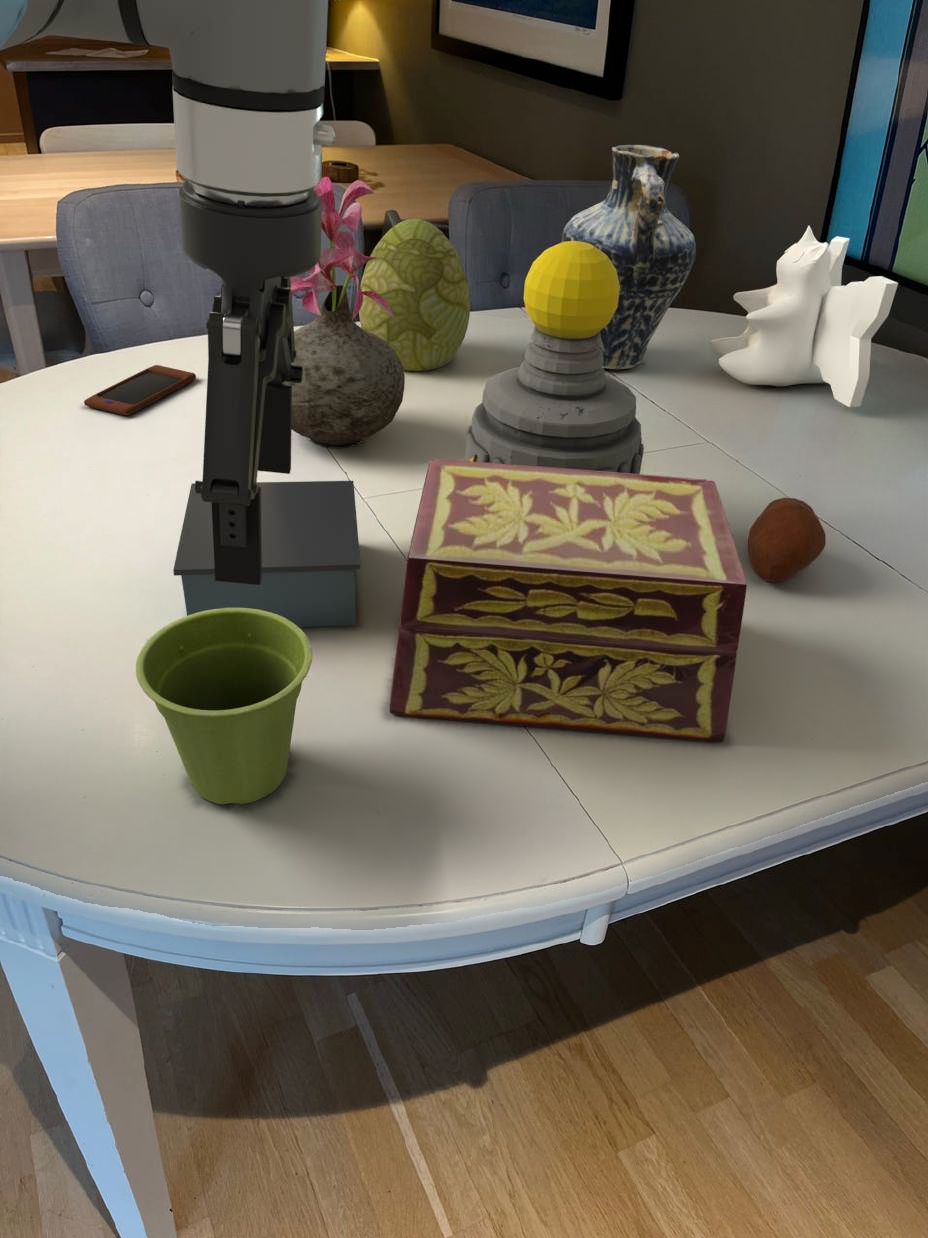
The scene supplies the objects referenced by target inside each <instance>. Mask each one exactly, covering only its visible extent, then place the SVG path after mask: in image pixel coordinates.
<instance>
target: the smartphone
mask: <svg viewBox="0 0 928 1238" xmlns="http://www.w3.org/2000/svg"><path fill="white" fill-rule="evenodd" d="M196 378H197V375H196V373H194V372H190V371H186V370H182V369H177V368H173V367H169V366H164V365H161V364H154V365H152V366H149V367H147V368H145V369H143V370H140V371H139V372H137V373H135V374H133V375H131V376H129V377H126V378H125V379H123V380H121V381H119V382H117V383H114V384H113V385H111V386H109V387H106V388H104V389H103V390H100V391H99V392H96V393H95V394H93V395H91V396H89V397H87V398H85V399H84V400H83V404H84V405H85V406H86V407H88V408H94V409H97V410H101V411H105V412H110V413H112V414H113V413H114V414H118V415H121V416H129V415H132V414H133V413H135V412H138V411H139V410H142V409H144V408H145V407H147V406H149V405H150V404H153V403H154V402H156V401H158V400H160V399H162V398H163V397H165V396H167V395H169V394H171V393H173V392H175V391H177V390H178V389H180V388H182V387H184V386H186V385H187V384H189V383H191V382H193V381H194V380H196Z"/></svg>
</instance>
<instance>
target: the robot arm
mask: <svg viewBox="0 0 928 1238" xmlns="http://www.w3.org/2000/svg"><path fill="white" fill-rule="evenodd" d="M328 12H329V0H0V51H2V50H6V49H9V48H11V47H15V46H18V45H22V44H26V43H30V42H32V41H35V40H38V39H41V38H44V37H47V36H52V37H53V36H54V37H55V36H57V37H66V38H67V37H68V38H76V39H77V38H78V39H84V40H85V39H86V40H94V41H95V40H97V41H106V42H107V41H108V42H115V43H116V42H117V43H125V44H126V43H127V44H133V45H136V46H143V47H144V46H145V47H146V46H147V47H153V46H154V47H161V48H167V49H168V50H169V55H170V61H171V69H172V71H171V79H172V105H173V107H172V108H173V122H174V123H173V125H174V146H175V165H176V167H175V168H176V171H177V172H178V173H179V175H180V176H182V178H184V179H185V181H184V182H183V184H182V186H180V188H179V189H178V198H179V199H178V201H179V215H180V231H181V232H180V233H181V235H180V236H181V246H182V251H183V252H184V254H185V256H186V257H187V259H188V260H190V261H191V262H192V263H193V264H195V265H196V266H198V267H200V268H202V269H204V270H209V271H211V272H213V273H214V274H215V275H217V276H218V277H220V278H221V280H222V281H221V285H220V295H214V296H213V299H212V307H211V308H212V309H211V311H210V312H209V313H208V318H207V319H206V323H205V327H206V329H207V357H208V360H207V361H208V362H207V378H206V379H207V380H206V381H207V382H206V402H205V403H206V404H205V419H204V420H205V421H204V442H203V443H204V444H203V462H202V464H203V465H202V480H195V481H194V483H195V491H196V493H198V494H201V498H202V500H203V501H204V502H211V504H212V525H213V545H214V565H215V581H221V582H232V583H243V584H254V585H260V583H261V579H262V548H261V487H258V484H256V483H257V481H258V472H266V473H275V474H284V475H285V474H286V475H290V474H291V471H292V430H291V421H292V386H285V385H284V382H292V383H302V376H303V367H302V366H293V365H292V364H291V363H294V359H295V358H296V355H297V351H296V350H295V339H294V331H295V327H294V326H295V325H294V313H293V295H292V291H291V282H290V277H298V276H300V275H303V274H305V273H308V272H307V271H309V270H311V269H312V268H313V267H314V266H315V265H316V264H317V263H318V261H319V259H320V254H321V252H322V229H321V220H322V219H323V217H322V201H321V199H320V197H319V196H318V194H317V193H316V192H315V191H314V190H313V189H314V188H315V187H316V186H317V185H318V184H319V183H320V182H321V180H322V178H323V177H322V175H323V148H322V146H323V147H328V146H329V147H330V146H333V144H335V143H336V133H335V130H334V127H333V126H331V125H330V124H320V120H321V118H322V117H323V116H324V103H325V83H326V61H327V59H326V58H327V37H328V35H327V33H328Z"/></svg>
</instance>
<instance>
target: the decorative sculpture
mask: <svg viewBox="0 0 928 1238" xmlns="http://www.w3.org/2000/svg"><path fill="white" fill-rule="evenodd" d="M369 257H376V258H375V259H372V260H370V261H368V262H367V263H366V264H365V267H364V271H363V274H362V277H361V281H360V287H361V289H362V292H364V291H373V292H375V293H377V294H379V295H380V296H381V297H382V298H383V299H384V300H385V301H386V302H387V304H388V306H389V308H390V309H391V311H392V313H393V315H394V317H395V318H393V317H392V316H391V315H390V314H389V313H388V312H387V311H386V310H385V309H383V308H382V307H381V306H380V305H379V304H378V303H377V302H375V301H374V300H372V299H371V298H369V297H367V296H365V295H364V294H363V303H362V306H361V308H360V310H359V312H358V315H359V324H360V327H361V328H362V329H364V330H366V331H368V332H370V333H372V334H374V335H376V336H377V337H379V338H381V339H383V340H385V341H386V342H387V343H388V344H389V345H390V346H392V347H393V348H394V350H395V352H396V354H397V355H398V357H399V359H400V361H401V363H402V365H403V369H404V371H409V372H424V371H432V370H436V369H439V368H443V367H445V366H446V365H447V364H448V363H450V361H451V360H452V359H453V358H454V357H455V356H456V354H457V353H458V351H459V350H460V348H461V346H462V344H463V342H464V339H465V337H466V334H467V331H468V327H469V321H470V314H471V298H470V288H469V283H468V278H467V274H466V271H465V268H464V266H463V263H462V260H461V258H460V256H459V254H458V252H457V250H456V248H455V247H454V245H453V244H452V243H451V241H450V240H449V238H448V237H447V236H446V234H444V233H443V231H442V230H441V229H440V228H438V227H437V226H436V225H434V224H433V223H431V222H429V221H427V220H424V219H420V218H410V219H405V220H402V221H401V222H398V223H396V224H395V225H394V226H393V227H391V228H390V229H389V230H387V232H386V233H385V234H384V235H383V236H382V238H380V240H379V241H378V242H377V243H376V245H375V247H374V249H373V250H372V252H371V253H370V256H369Z"/></svg>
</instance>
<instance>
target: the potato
mask: <svg viewBox="0 0 928 1238" xmlns="http://www.w3.org/2000/svg"><path fill="white" fill-rule="evenodd" d="M826 537H827V536H826V532H825V530H824V527H823V526H822V523H821V521H820V520H819V517H818V516H817V514H816V513H815V511H814V509H813V508H812V506H810V505H809V504H808V503H807V502H805V501H804V500H801V499H799V498H795V497H781V498H777V499H774V500H772V501H770V502H769V503H768V504H767V505H766V507H765V508H764V509H763V510H762V512H761V513H760V514H759V515H758V516H757V518H756V519H755V520H754V522H753V524H751V526H750V528H749V531H748V535H747V540H746V549H747V557H748V561H749V563H750V566H751V568H752V571H753V572H754V573H755V574H756V576H757V577H758V578H759V579H761V580H763V581H767V582H770V583H773V582H774V583H775V582H783V581H786V580H789V579H791V578H793V577H795V576H796V575H797V574H799V573H800V572H802V571H803V570H805V569H806V568H808V566H810V565H811V564H812V563H813V562H814V561H815V560H817V559H818V558H819V556H820V555H821V554H822V552H823V551H824V549H825V547H826V546H827V545H826V542H827V541H826V539H827V538H826Z"/></svg>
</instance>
